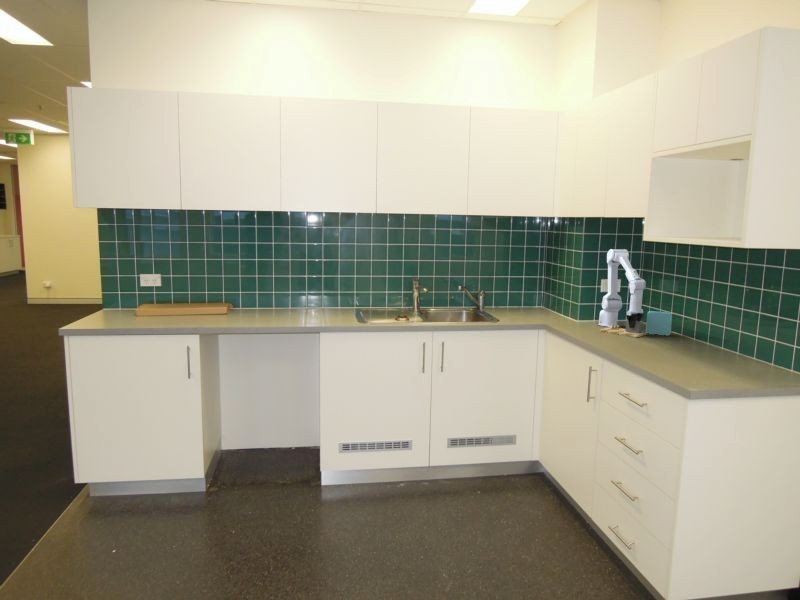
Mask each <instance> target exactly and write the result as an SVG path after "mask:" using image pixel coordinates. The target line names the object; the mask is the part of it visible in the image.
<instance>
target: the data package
mask: <svg viewBox="0 0 800 600" xmlns="http://www.w3.org/2000/svg"><path fill="white" fill-rule="evenodd" d="M672 322H673V314H672V313H671V312H666V311H656V310H655V311H654V310H649V311H647V314H646V324H645V325H646V326H645V333H649V334H648V335H654V334H658V335H657V336H664V335H666V336H665V337H667V336H670V335H671V331H672Z"/></svg>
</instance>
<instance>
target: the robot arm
mask: <svg viewBox="0 0 800 600" xmlns="http://www.w3.org/2000/svg"><path fill="white" fill-rule="evenodd" d="M629 258H630V254H629V251H628V249H627V248H626V249H625V248H624V249H613V248H610V249H609V250H608V251H607V253H606V263H607V293H606V294H605V295H603V297H602V301H601V308H602V309H601V310H600V311H599V316H598V317H599V318H598V324H597V325H598V326H602V327H606V328H608V327H612V324H613V325H614V327H615V325H619V324H618V318H619V312H620V310H621V309H622V308H623V301H622V297H621V295H619V294H618V281H619V279H618V274H619V270H618V269H619V265H621V266H622V267H623V269H624V270H625V273H624V275H625V276H626V279H627V280H628V282H629V284H628V287H629V293H630V300H629V309H628V311H627V312H626V315H625V317H626V318H627V320H628V322H629V327H630V328H634V326H635V322H636V321H640V322H641V320H642V318H643V316H644V309H642V303H643V294H644V291H645V290H646V287H647V282H646V280H645V279H643V278H641V277H640V275H639V273H638V271H637V269H635V268H633V266H632V264H631V262H630V259H629ZM620 326H621V325H619V327H620ZM616 328H617V326H616Z"/></svg>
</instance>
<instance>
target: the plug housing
mask: <svg viewBox="0 0 800 600" xmlns="http://www.w3.org/2000/svg"><path fill="white" fill-rule="evenodd" d="M625 322H626V323H625V329H626V331H625V332H630V333H636V334H640V333H642V332H643V324H644V323H643V321H641V320H640V321H636V322H635V326H634V328H630V327H629V322H628V319H627V320H626V321H625Z"/></svg>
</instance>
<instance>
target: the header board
mask: <svg viewBox="0 0 800 600" xmlns="http://www.w3.org/2000/svg"><path fill="white" fill-rule="evenodd" d="M616 326H617V327H616ZM601 331H603V333H607V332H608V333H607V334H612V333H614V334H613V335H618V334H619V336H623V335H625V336H624V337H629V336H630V338H635V337H637V338H640V337H643V335H644V336H647V335H648V334H647V333H646V331H644V332H643V331H642V333H640V334H636V333H630V332H625V331H626V328H622V327H620V326H619V324H617V325H615V327H614V325H613V324H612V327H604V328H600V329H599V332H601ZM646 334H647V335H646Z"/></svg>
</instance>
